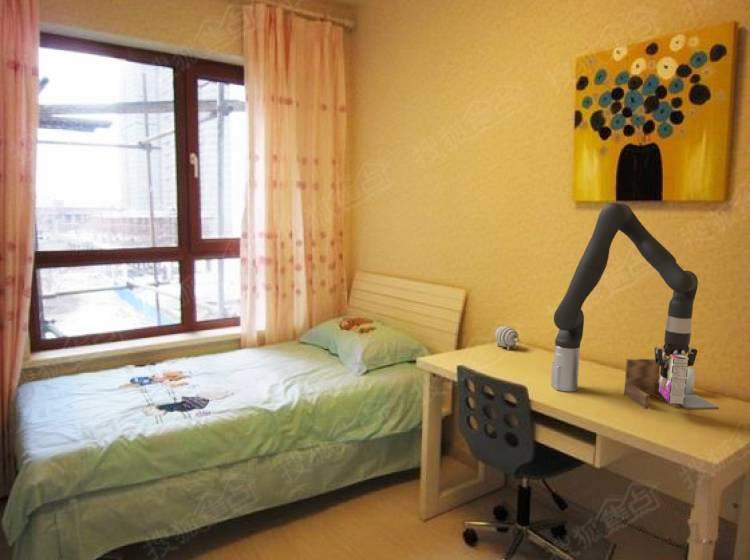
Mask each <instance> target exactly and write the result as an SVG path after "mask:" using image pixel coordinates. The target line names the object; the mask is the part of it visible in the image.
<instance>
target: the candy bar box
mask: <svg viewBox="0 0 750 560" xmlns="http://www.w3.org/2000/svg"><path fill="white" fill-rule="evenodd" d="M664 354H665V352H663V354H662V357H663V356H664ZM667 358H670V361H669V364H668V367H667V368H668V373H667V378H663V377H662V376H661V375H660V374H659V392H660V394H661V395H662V396H663V397H664V398H665V399H666V400H667V401H668V402H669V403H671V404H684V399H685V390H686V380H687V371H688V368H689V366H688V361H689V358H688V357H687V355H686V356H685V355H682V354H670V355H669V356H667Z"/></svg>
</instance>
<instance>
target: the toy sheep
mask: <svg viewBox="0 0 750 560" xmlns="http://www.w3.org/2000/svg"><path fill="white" fill-rule="evenodd" d="M494 338H495V340H496V342H497V344H496V347H498V348H499V347H500V346H501V347H504V348H506V350H507V351H510V348H511V347H512V349H513V350H516V349H517V343H519V342H520V339H519V332H518V331H517V330H516V329H515V328H513V327H511V326H505V325H503V326H500V327H498V328H497V329H496V330H495V331H494Z"/></svg>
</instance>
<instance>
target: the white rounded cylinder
mask: <svg viewBox="0 0 750 560" xmlns="http://www.w3.org/2000/svg"><path fill="white" fill-rule="evenodd" d="M695 375H696V370H695V369H693V368H690V367H688V371H687V380H686V390H685V395H694V389H695V386H694V385H695Z"/></svg>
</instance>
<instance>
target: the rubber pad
mask: <svg viewBox="0 0 750 560" xmlns="http://www.w3.org/2000/svg"><path fill="white" fill-rule="evenodd" d="M679 407H681V408H683V409H684V410H714V409H715V410H718V409H719V406H718V405H715V404H714V403H711V402H710V401H709V400H706V399H705V398H702V397H701V396H699V395H697V394H692V395H685V399H684V404H679Z"/></svg>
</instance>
